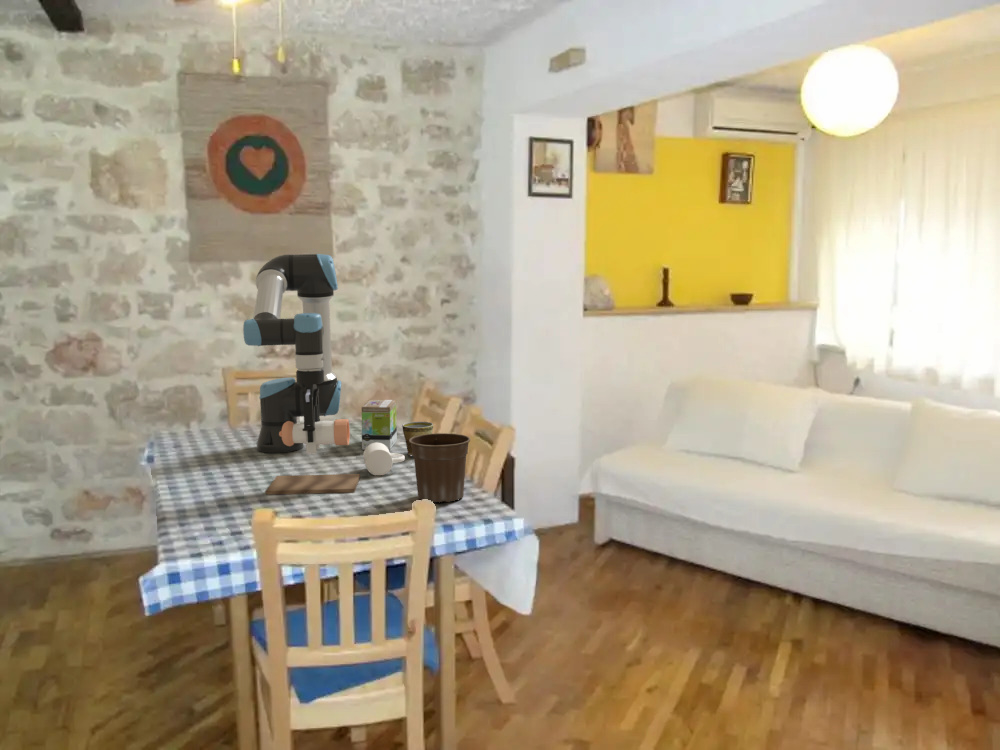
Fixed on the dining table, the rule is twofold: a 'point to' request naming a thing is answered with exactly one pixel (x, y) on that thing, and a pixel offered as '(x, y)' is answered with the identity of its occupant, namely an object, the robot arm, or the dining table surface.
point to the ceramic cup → (415, 431)
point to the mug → (380, 458)
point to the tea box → (379, 423)
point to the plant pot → (440, 465)
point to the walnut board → (314, 484)
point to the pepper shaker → (317, 432)
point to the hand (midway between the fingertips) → (313, 450)
